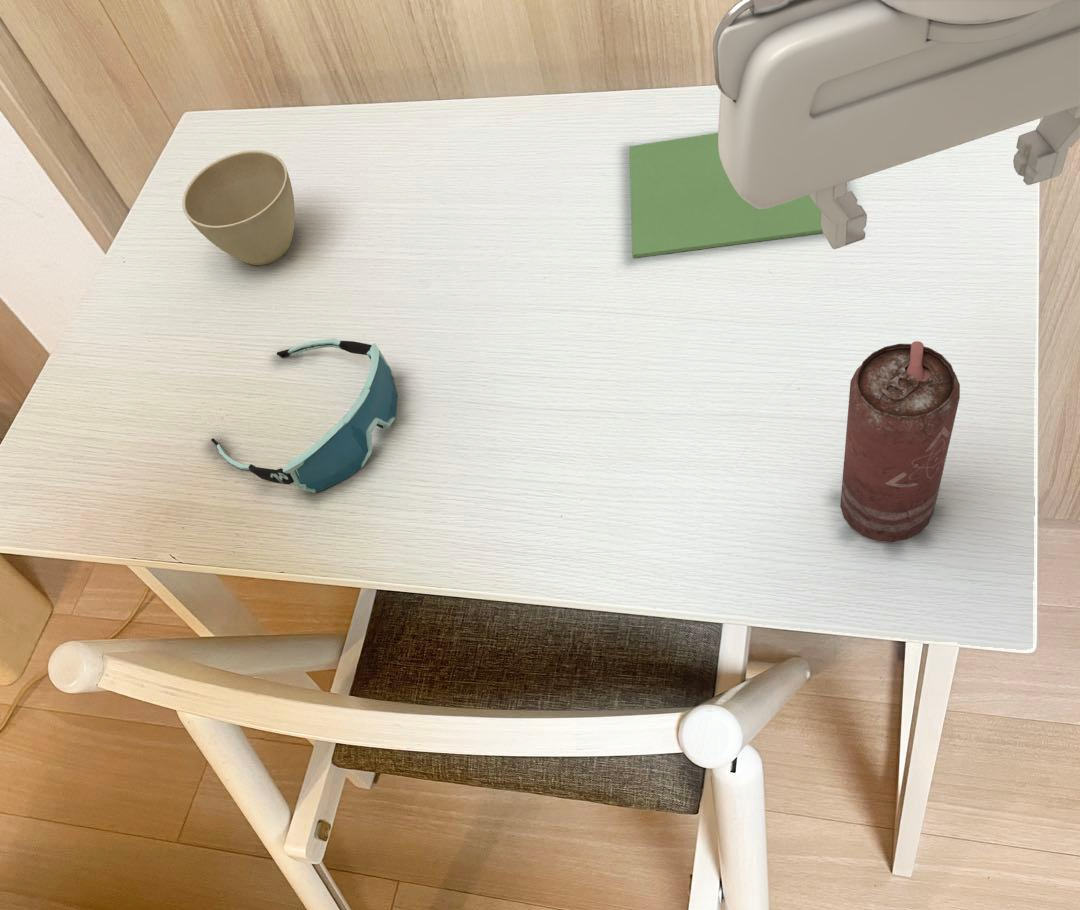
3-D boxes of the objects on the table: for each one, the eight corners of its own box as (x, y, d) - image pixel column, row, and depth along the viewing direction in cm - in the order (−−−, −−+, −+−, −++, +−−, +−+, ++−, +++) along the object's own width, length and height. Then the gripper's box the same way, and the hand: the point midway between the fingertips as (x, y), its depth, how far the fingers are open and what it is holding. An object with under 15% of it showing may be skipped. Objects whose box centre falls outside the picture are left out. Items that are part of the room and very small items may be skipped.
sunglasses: (340, 515, 80) (309, 477, 76) (212, 475, 87) (178, 438, 84) (431, 379, 85) (406, 337, 81) (303, 353, 93) (274, 313, 89)
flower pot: (236, 301, 95) (199, 243, 89) (206, 241, 101) (169, 183, 95) (331, 251, 96) (301, 190, 90) (297, 194, 102) (266, 134, 96)
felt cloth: (830, 119, 92) (831, 115, 91) (851, 229, 85) (851, 225, 84) (630, 149, 95) (629, 146, 95) (633, 258, 88) (632, 254, 88)
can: (935, 471, 71) (964, 336, 60) (930, 550, 69) (960, 424, 57) (844, 465, 73) (855, 332, 62) (836, 541, 70) (846, 417, 59)
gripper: (739, 46, 36) (750, 319, 47) (1317, -149, 35) (1185, 178, 47) (683, -44, 39) (706, 231, 51) (1208, -224, 38) (1110, 98, 50)
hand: (938, 205), depth 49 cm, fingers open, 8 cm apart
